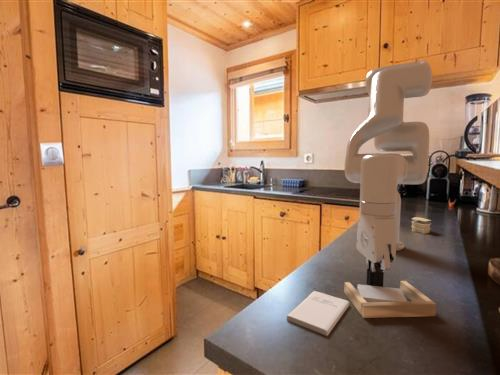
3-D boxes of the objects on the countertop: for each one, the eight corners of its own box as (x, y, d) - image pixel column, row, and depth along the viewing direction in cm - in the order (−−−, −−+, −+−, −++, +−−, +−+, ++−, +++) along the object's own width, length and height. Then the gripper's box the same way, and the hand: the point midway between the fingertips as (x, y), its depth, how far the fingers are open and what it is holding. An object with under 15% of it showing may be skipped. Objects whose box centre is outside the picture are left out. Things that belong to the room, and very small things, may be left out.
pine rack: (344, 292, 63) (344, 282, 63) (404, 290, 64) (405, 280, 63) (363, 317, 53) (363, 305, 53) (435, 316, 54) (436, 304, 53)
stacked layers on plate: (438, 233, 112) (439, 220, 111) (425, 236, 108) (425, 222, 107) (415, 228, 121) (415, 215, 120) (401, 230, 117) (402, 217, 116)
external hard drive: (286, 322, 53) (313, 296, 63) (327, 339, 48) (349, 307, 58) (286, 315, 53) (313, 289, 63) (327, 330, 48) (349, 300, 58)
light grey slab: (357, 294, 63) (357, 284, 63) (399, 299, 61) (400, 288, 61) (360, 308, 58) (360, 296, 57) (407, 314, 55) (408, 302, 55)
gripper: (348, 203, 69) (346, 273, 71) (377, 216, 54) (373, 303, 56) (377, 203, 69) (375, 272, 71) (414, 215, 54) (409, 302, 56)
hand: (374, 285), depth 63 cm, fingers closed
